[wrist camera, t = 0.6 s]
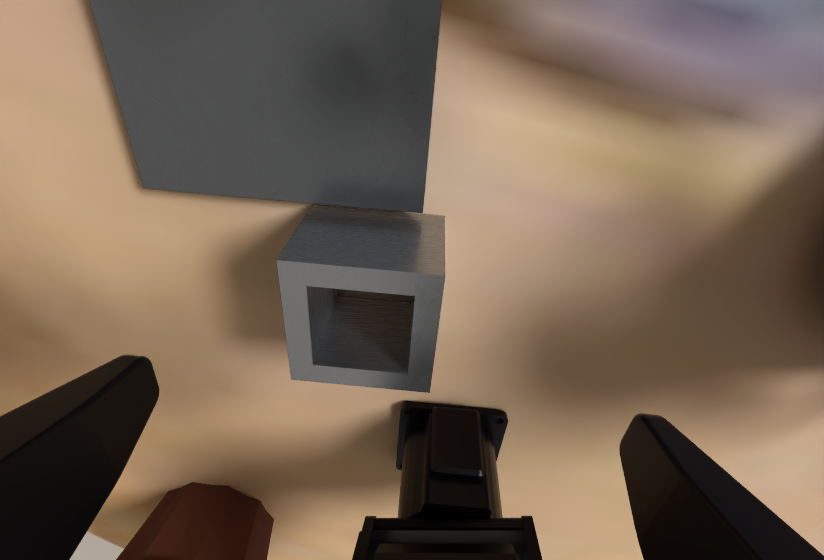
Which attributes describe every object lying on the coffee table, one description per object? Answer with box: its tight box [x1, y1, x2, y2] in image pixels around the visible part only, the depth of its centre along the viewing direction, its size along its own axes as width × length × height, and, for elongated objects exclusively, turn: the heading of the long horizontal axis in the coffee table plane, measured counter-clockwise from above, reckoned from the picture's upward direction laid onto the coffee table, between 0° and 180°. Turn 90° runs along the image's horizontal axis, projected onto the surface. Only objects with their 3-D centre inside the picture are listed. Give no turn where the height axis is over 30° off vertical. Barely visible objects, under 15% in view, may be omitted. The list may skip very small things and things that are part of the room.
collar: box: [277, 204, 445, 393], centre depth 19 cm, size 6×6×5 cm
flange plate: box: [89, 0, 442, 213], centre depth 13 cm, size 14×12×5 cm
